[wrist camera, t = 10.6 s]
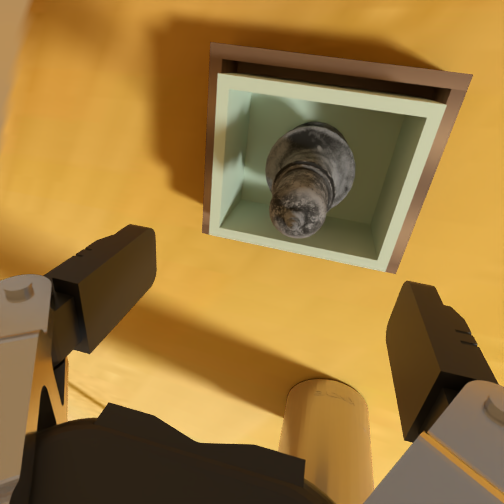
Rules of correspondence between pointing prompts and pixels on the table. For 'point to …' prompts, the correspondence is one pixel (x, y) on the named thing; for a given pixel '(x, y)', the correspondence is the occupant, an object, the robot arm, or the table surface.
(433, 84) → the box
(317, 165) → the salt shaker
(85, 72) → the table surface
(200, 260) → the table surface
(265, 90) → the green crate
